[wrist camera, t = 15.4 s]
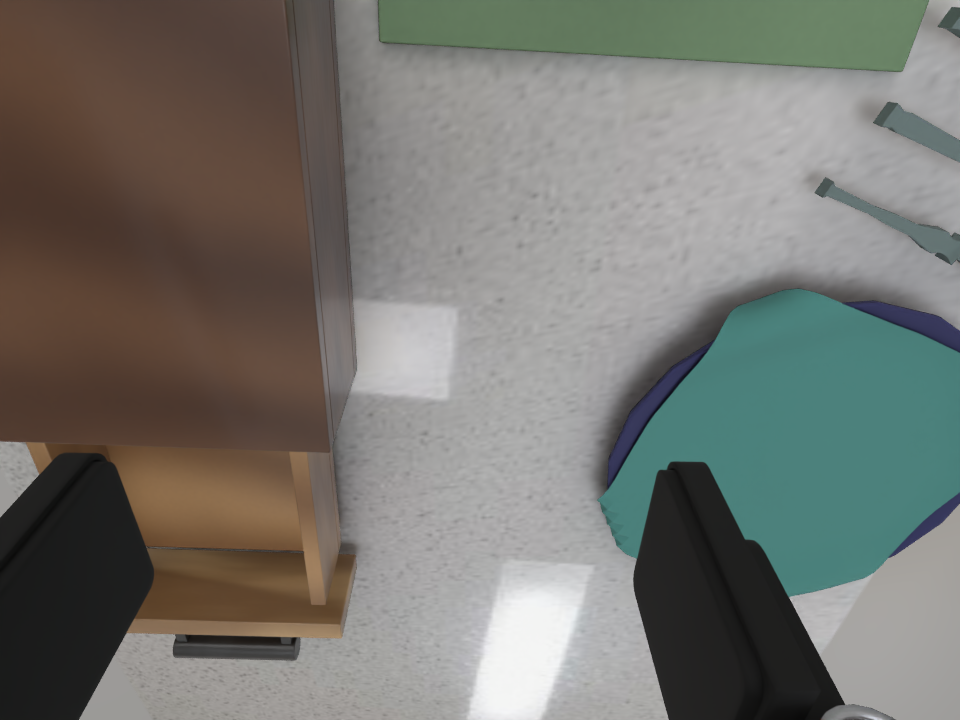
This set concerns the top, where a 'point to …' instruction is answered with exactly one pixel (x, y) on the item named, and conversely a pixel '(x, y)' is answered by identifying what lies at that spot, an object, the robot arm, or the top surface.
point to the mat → (671, 29)
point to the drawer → (234, 546)
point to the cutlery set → (813, 416)
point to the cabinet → (173, 225)
